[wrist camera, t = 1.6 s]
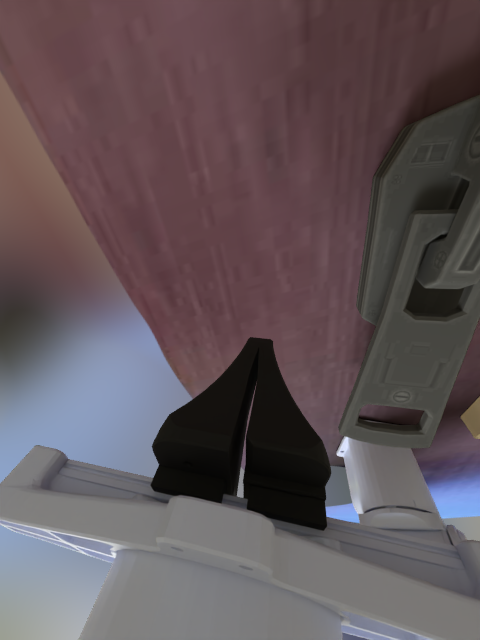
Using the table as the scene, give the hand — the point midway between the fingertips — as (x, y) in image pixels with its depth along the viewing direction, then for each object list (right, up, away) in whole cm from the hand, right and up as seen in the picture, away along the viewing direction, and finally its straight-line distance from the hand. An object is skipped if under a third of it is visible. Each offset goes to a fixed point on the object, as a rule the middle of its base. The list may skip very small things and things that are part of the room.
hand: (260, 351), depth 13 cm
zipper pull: (+13, +4, +6) cm, 15 cm away
